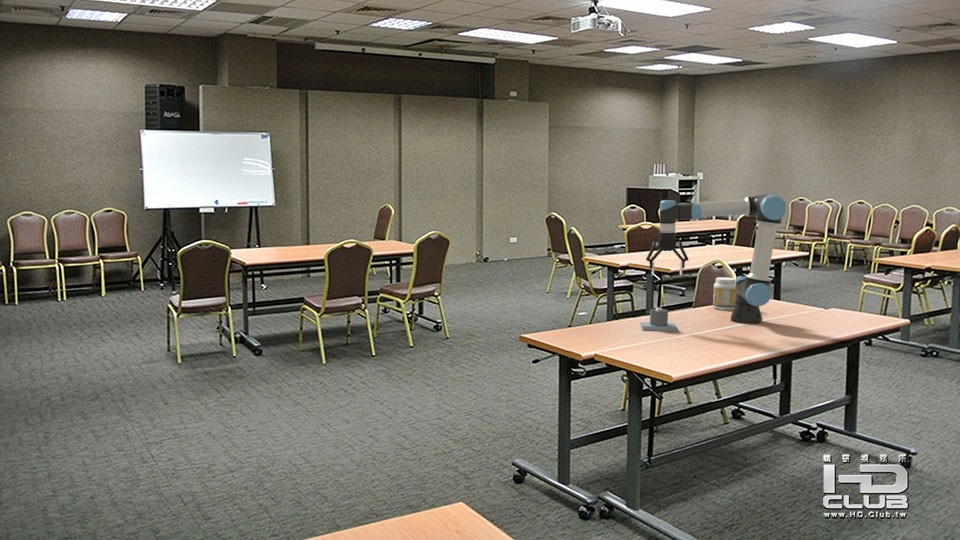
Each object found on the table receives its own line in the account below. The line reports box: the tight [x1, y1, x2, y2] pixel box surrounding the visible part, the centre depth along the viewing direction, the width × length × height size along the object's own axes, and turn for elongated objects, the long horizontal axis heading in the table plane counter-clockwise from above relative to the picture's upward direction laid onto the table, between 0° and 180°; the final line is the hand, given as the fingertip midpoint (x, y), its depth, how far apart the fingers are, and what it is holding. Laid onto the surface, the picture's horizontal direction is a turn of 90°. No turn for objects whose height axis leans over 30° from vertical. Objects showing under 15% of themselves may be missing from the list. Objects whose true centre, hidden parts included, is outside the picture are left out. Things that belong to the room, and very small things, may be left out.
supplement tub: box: [712, 276, 736, 311], centre depth 440 cm, size 12×12×17 cm
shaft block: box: [640, 307, 678, 332], centre depth 384 cm, size 16×10×10 cm, turn 84°
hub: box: [649, 308, 669, 326], centre depth 383 cm, size 8×8×7 cm
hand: (666, 275), depth 391 cm, fingers open, 13 cm apart
